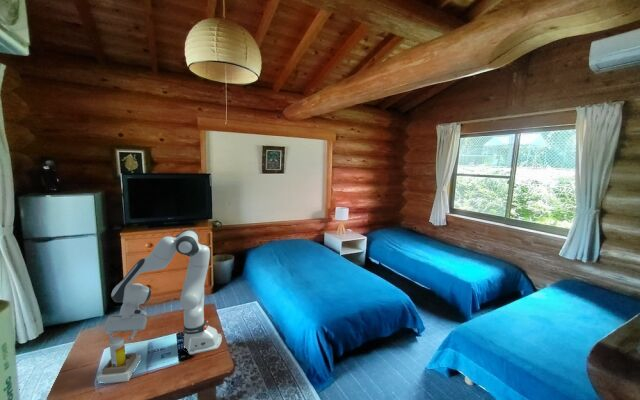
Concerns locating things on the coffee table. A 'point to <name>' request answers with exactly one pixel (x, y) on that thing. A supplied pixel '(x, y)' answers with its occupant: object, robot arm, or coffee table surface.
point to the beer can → (117, 352)
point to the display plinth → (119, 370)
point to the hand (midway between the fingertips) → (121, 340)
